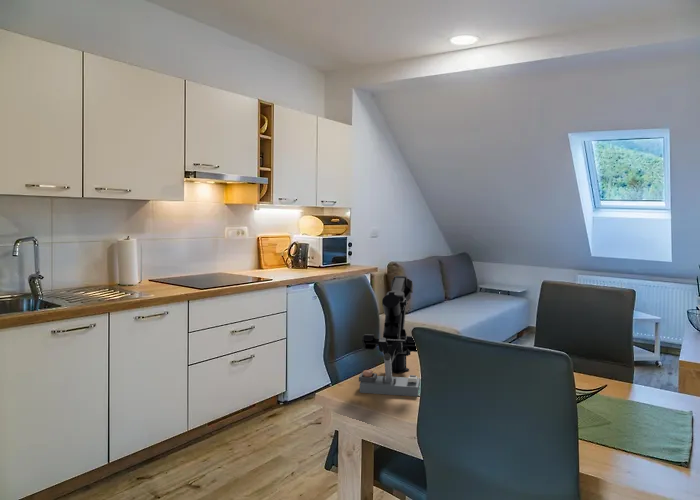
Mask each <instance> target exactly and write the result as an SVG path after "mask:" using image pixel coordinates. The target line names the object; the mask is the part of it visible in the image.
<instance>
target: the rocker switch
mask: <svg viewBox="0 0 700 500" xmlns="http://www.w3.org/2000/svg"><path fill="white" fill-rule="evenodd" d="M407 378H408V382H417V378H418V376H417V375H413V374H409V375H408V376H407Z"/></svg>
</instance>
